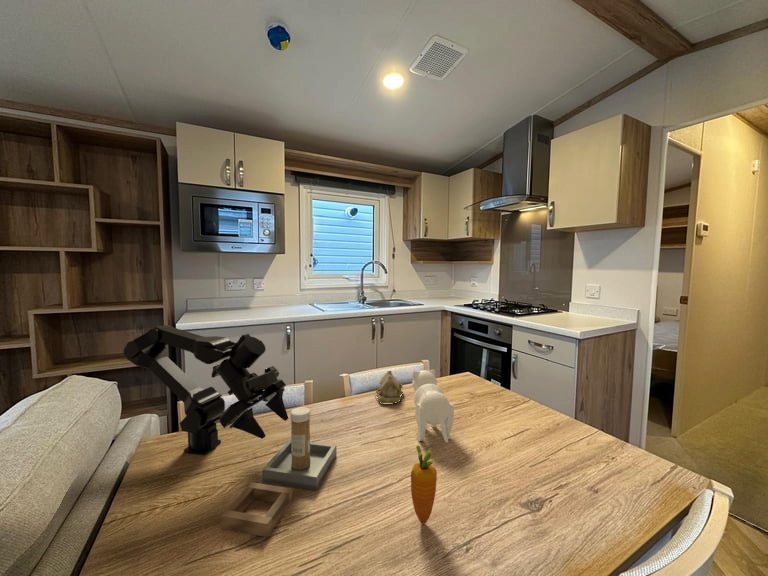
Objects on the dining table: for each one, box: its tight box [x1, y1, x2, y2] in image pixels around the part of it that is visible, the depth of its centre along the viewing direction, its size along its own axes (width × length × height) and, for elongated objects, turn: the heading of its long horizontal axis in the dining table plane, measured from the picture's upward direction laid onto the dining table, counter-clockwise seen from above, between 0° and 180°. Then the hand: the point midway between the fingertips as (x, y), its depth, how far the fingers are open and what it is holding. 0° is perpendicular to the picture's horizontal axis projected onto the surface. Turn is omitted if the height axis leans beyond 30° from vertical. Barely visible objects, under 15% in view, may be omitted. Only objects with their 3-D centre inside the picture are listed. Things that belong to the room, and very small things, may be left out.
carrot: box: [410, 444, 438, 525], centre depth 61 cm, size 5×5×15 cm
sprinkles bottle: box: [290, 406, 311, 470], centre depth 77 cm, size 5×5×13 cm
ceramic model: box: [375, 370, 404, 403], centre depth 121 cm, size 14×11×10 cm
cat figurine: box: [408, 369, 455, 443], centre depth 94 cm, size 25×10×17 cm, turn 12°
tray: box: [261, 438, 337, 491], centre depth 78 cm, size 13×13×3 cm
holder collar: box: [220, 482, 293, 538], centre depth 63 cm, size 10×10×2 cm
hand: (276, 428), depth 79 cm, fingers open, 9 cm apart
